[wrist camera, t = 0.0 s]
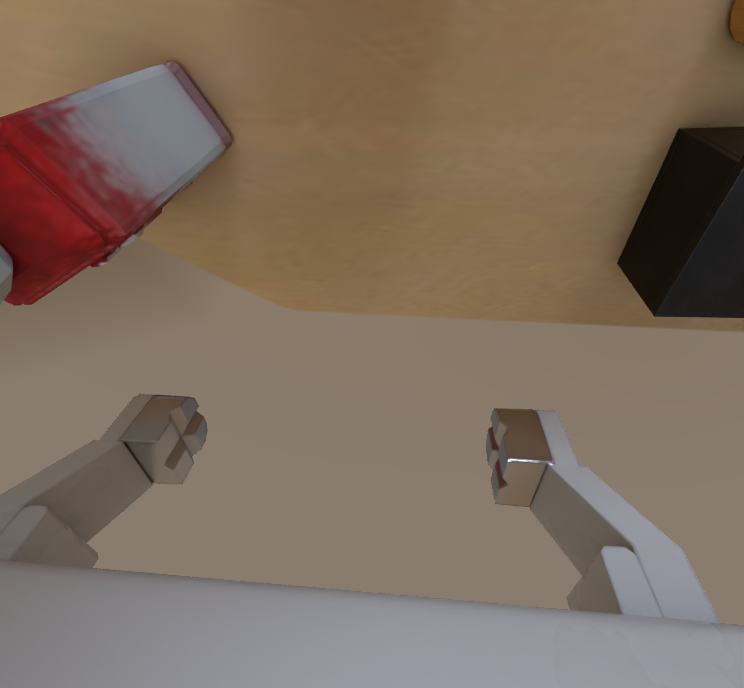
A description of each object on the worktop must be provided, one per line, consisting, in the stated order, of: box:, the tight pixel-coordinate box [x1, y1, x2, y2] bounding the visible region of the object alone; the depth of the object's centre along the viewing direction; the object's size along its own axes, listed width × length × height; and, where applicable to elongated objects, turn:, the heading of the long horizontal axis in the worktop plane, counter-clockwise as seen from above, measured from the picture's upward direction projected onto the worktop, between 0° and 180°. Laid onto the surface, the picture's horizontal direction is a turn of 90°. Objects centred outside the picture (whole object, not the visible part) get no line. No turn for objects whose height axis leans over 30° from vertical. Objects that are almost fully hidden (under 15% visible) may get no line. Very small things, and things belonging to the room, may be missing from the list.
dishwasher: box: [617, 127, 744, 312], centre depth 39 cm, size 16×14×10 cm
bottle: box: [0, 61, 232, 305], centre depth 32 cm, size 14×10×30 cm
